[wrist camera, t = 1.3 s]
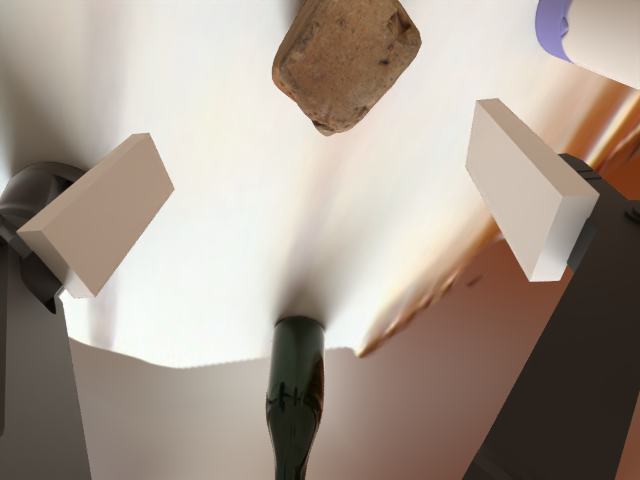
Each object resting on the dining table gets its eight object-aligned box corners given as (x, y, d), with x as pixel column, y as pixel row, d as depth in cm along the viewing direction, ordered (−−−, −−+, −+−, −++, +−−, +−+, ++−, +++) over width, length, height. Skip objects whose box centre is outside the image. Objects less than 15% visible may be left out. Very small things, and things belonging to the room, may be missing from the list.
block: (340, -53, 32) (358, -67, 17) (393, 10, 35) (449, 47, 20) (273, 45, 38) (239, 104, 22) (324, 92, 41) (325, 173, 25)
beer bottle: (276, 345, 73) (252, 551, 48) (270, 314, 67) (238, 533, 41) (325, 345, 73) (326, 551, 48) (324, 314, 67) (325, 533, 41)
